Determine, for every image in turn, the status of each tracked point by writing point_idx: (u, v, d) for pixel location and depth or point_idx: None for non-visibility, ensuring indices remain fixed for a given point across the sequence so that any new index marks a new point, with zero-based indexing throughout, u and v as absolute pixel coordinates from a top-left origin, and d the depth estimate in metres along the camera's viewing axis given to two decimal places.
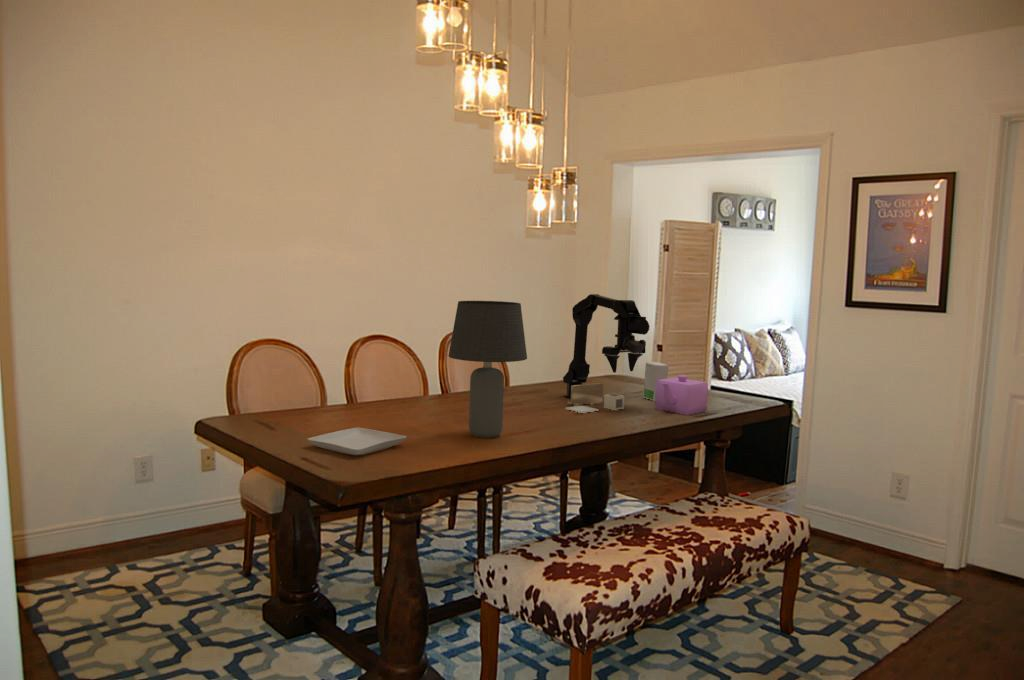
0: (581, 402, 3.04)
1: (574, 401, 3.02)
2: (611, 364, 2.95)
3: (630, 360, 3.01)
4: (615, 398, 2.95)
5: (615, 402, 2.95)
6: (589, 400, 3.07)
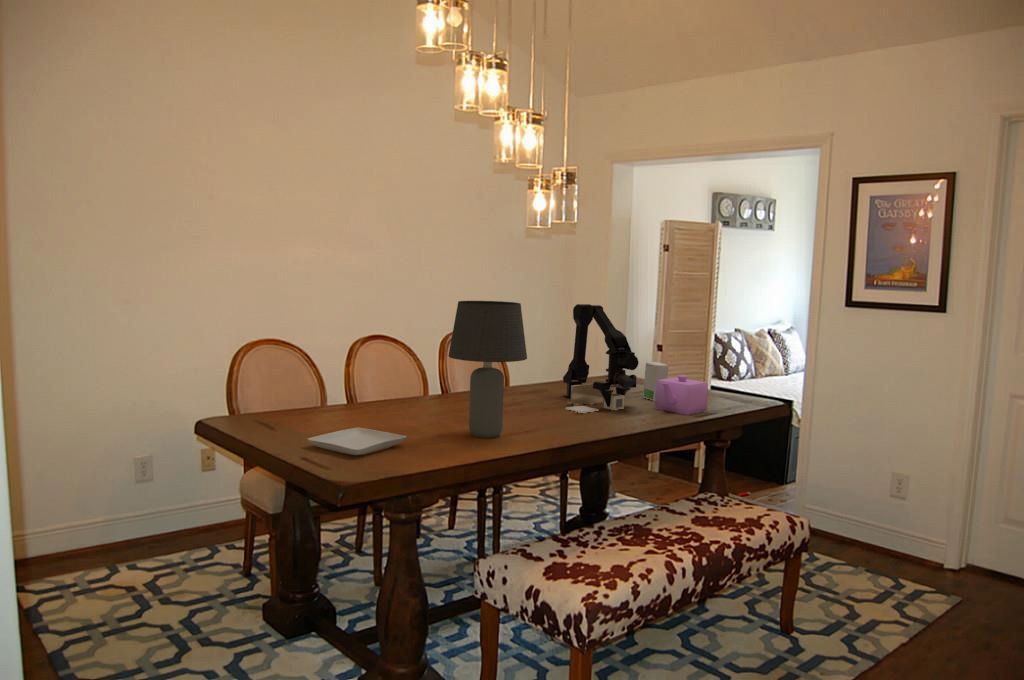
0: (581, 402, 3.04)
1: (574, 401, 3.02)
2: (605, 398, 2.96)
3: None
4: (615, 398, 2.95)
5: (615, 402, 2.95)
6: (589, 400, 3.07)
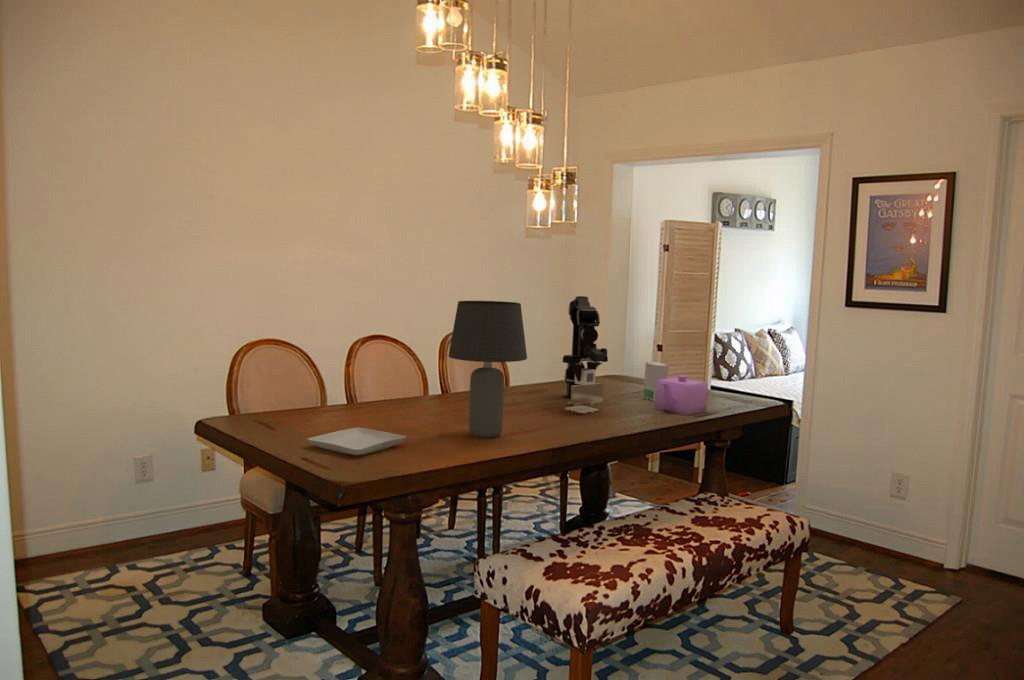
0: (581, 402, 3.04)
1: (574, 401, 3.02)
2: (575, 373, 2.90)
3: None
4: (586, 372, 2.88)
5: (586, 376, 2.88)
6: (589, 400, 3.07)
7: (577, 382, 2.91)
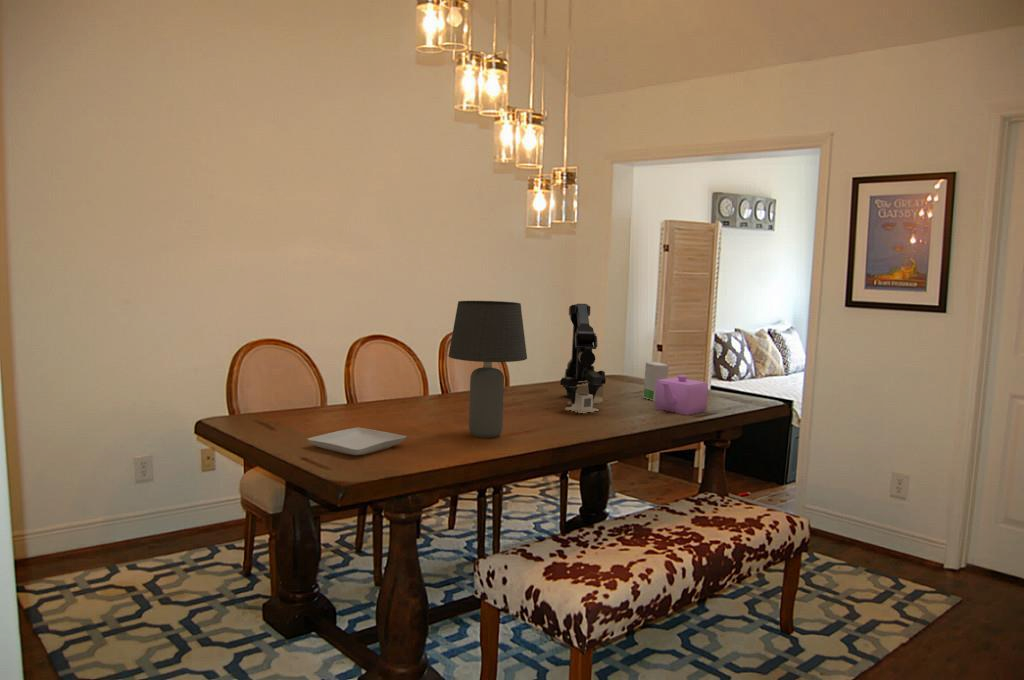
0: None
1: None
2: (570, 395, 2.89)
3: (590, 390, 2.96)
4: (583, 397, 2.89)
5: (583, 401, 2.89)
6: None
7: (575, 407, 2.92)
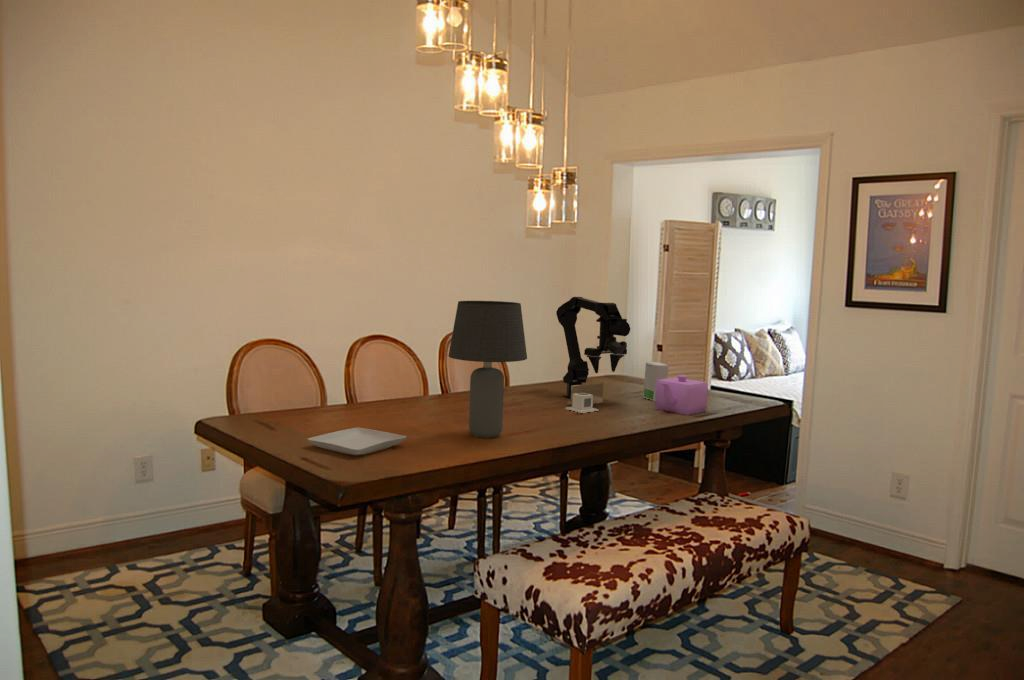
0: None
1: None
2: (593, 365, 3.03)
3: (612, 361, 3.09)
4: (583, 397, 2.89)
5: (583, 401, 2.89)
6: None
7: (575, 407, 2.92)
